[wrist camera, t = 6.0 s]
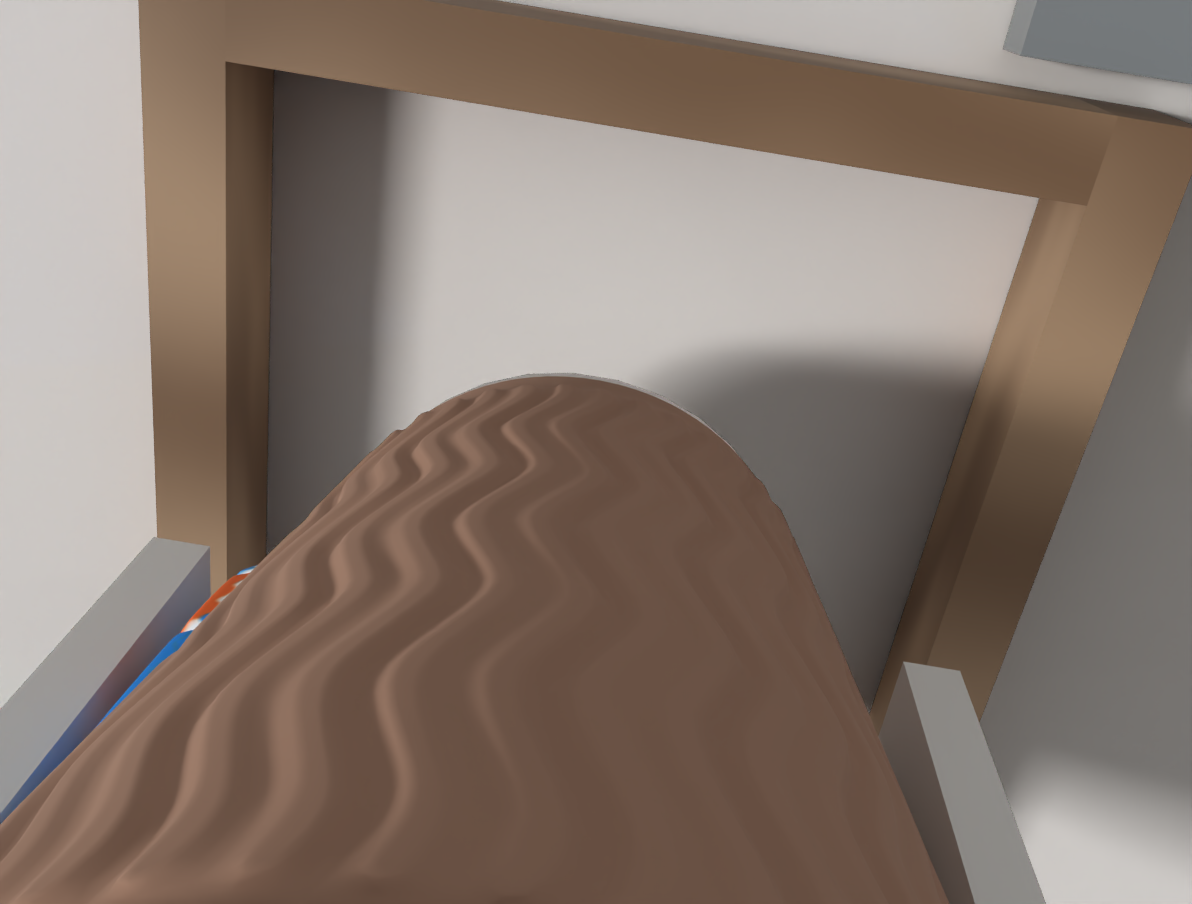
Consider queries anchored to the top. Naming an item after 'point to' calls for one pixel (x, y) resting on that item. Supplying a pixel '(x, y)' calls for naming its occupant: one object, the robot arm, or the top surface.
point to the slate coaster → (1107, 35)
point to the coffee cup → (496, 693)
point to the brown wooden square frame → (681, 109)
